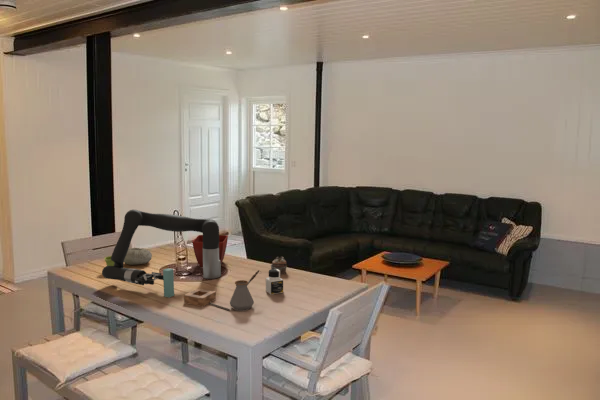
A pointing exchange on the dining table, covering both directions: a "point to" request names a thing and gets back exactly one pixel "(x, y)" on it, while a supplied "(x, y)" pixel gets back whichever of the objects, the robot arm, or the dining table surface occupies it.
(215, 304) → the dark grey rod
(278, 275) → the medicine bottle
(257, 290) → the dining table surface
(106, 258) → the plant pot
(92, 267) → the dining table surface
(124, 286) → the dining table surface
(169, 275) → the peg
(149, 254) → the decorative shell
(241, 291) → the coffee pot
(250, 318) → the dining table surface
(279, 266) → the cupcake
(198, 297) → the brown square slotted piece
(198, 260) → the plant pot
